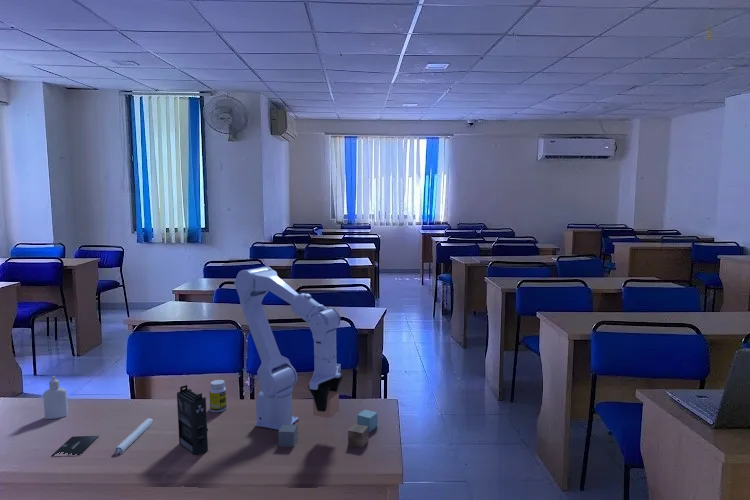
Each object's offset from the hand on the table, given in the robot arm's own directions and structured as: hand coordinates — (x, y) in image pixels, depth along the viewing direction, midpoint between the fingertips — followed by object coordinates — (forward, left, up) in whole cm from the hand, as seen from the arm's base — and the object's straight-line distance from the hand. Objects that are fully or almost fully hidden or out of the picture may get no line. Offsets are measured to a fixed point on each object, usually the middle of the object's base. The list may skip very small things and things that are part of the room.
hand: (326, 406), depth 135 cm
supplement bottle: (-38, +5, -9) cm, 39 cm away
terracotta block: (0, 0, -2) cm, 2 cm away
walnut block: (+9, 0, -8) cm, 12 cm away
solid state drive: (-58, -26, -9) cm, 64 cm away
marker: (-47, -17, -9) cm, 51 cm away
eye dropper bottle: (-79, -15, -9) cm, 81 cm away
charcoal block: (-8, -6, -8) cm, 13 cm away
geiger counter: (-29, -16, -9) cm, 34 cm away
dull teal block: (+8, +9, -8) cm, 15 cm away
